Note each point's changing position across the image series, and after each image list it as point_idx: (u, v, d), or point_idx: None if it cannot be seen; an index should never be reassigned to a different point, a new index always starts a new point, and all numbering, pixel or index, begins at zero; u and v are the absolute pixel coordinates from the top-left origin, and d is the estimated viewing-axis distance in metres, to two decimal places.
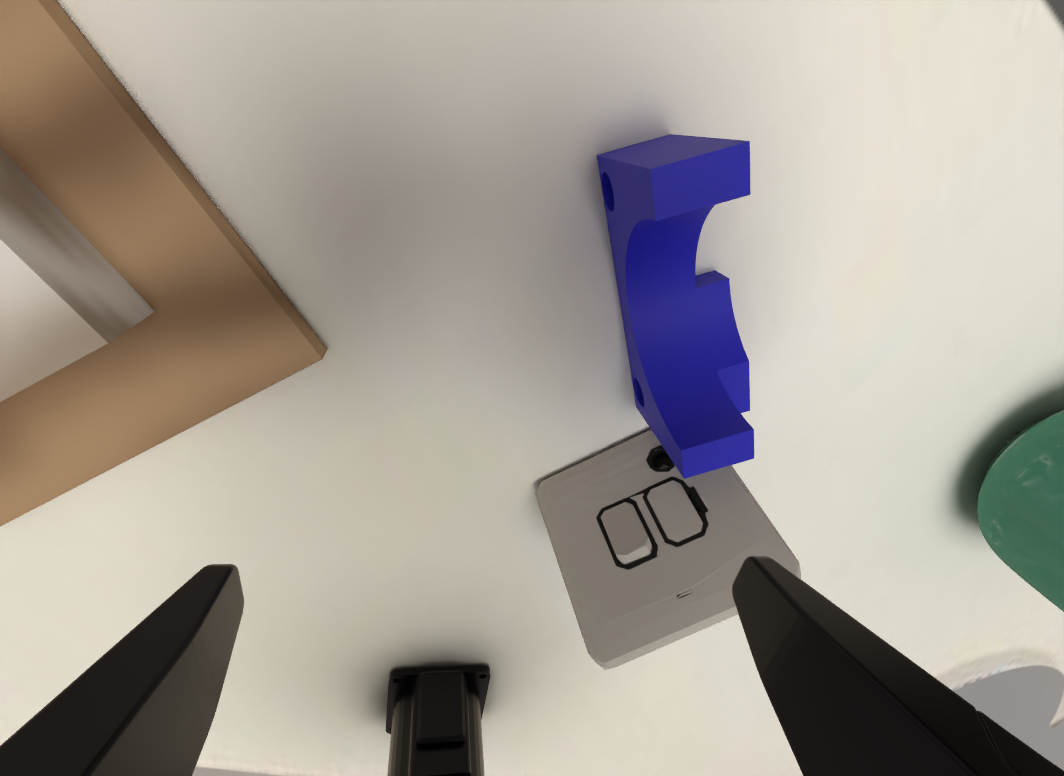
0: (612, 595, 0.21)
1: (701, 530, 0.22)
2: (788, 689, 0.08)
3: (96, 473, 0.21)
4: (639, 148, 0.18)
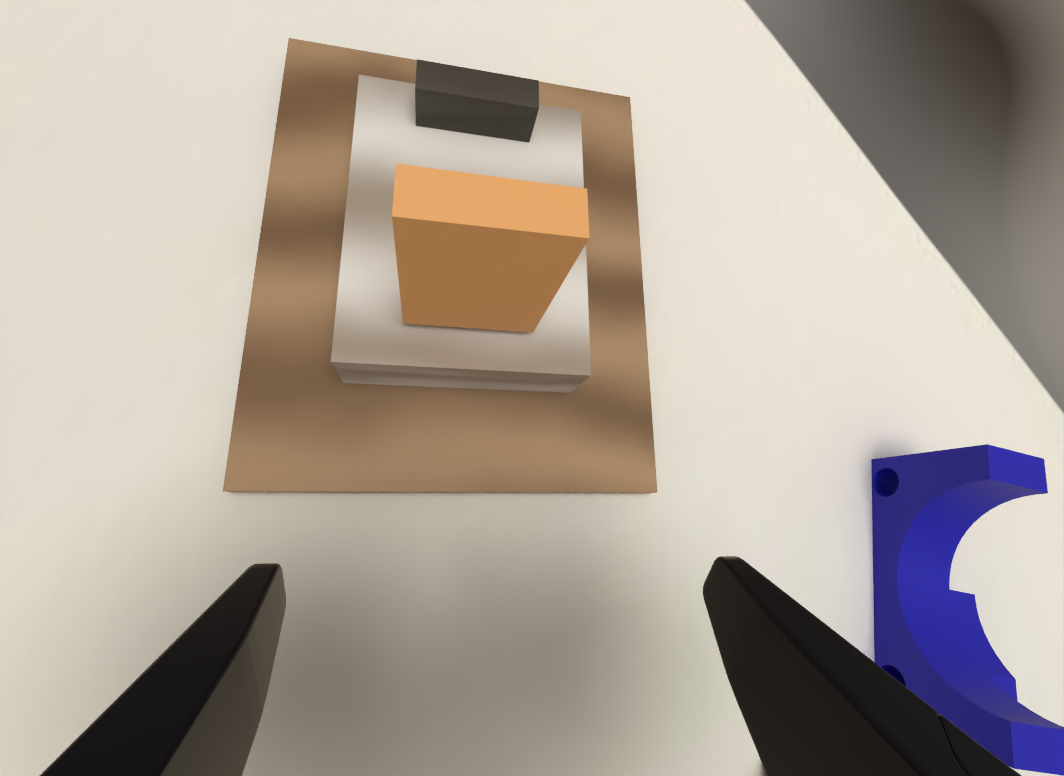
0: None
1: None
2: (754, 692, 0.08)
3: (405, 488, 0.21)
4: None
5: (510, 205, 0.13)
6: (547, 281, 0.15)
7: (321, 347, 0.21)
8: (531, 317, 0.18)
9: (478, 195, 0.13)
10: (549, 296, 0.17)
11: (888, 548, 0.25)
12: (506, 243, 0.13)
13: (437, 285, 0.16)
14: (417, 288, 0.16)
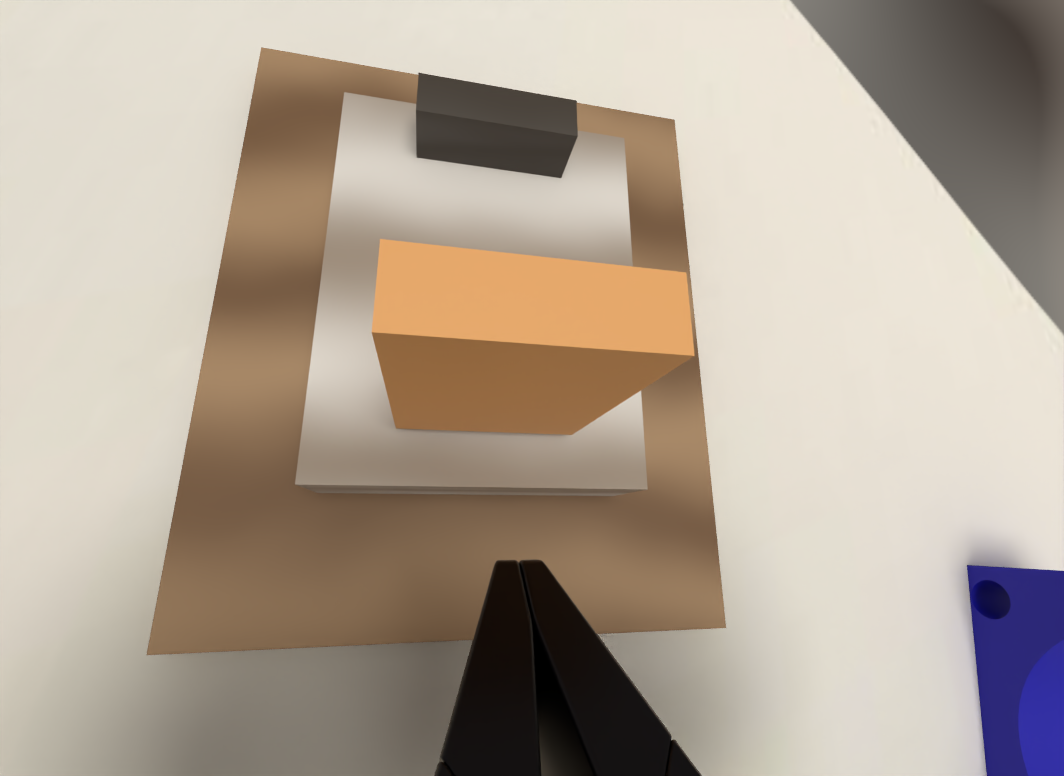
0: None
1: None
2: None
3: (397, 639, 0.15)
4: None
5: (568, 306, 0.08)
6: (608, 395, 0.10)
7: (290, 444, 0.16)
8: (573, 424, 0.13)
9: (516, 289, 0.08)
10: (606, 408, 0.11)
11: (1001, 690, 0.19)
12: (558, 361, 0.08)
13: (445, 399, 0.11)
14: (415, 401, 0.11)
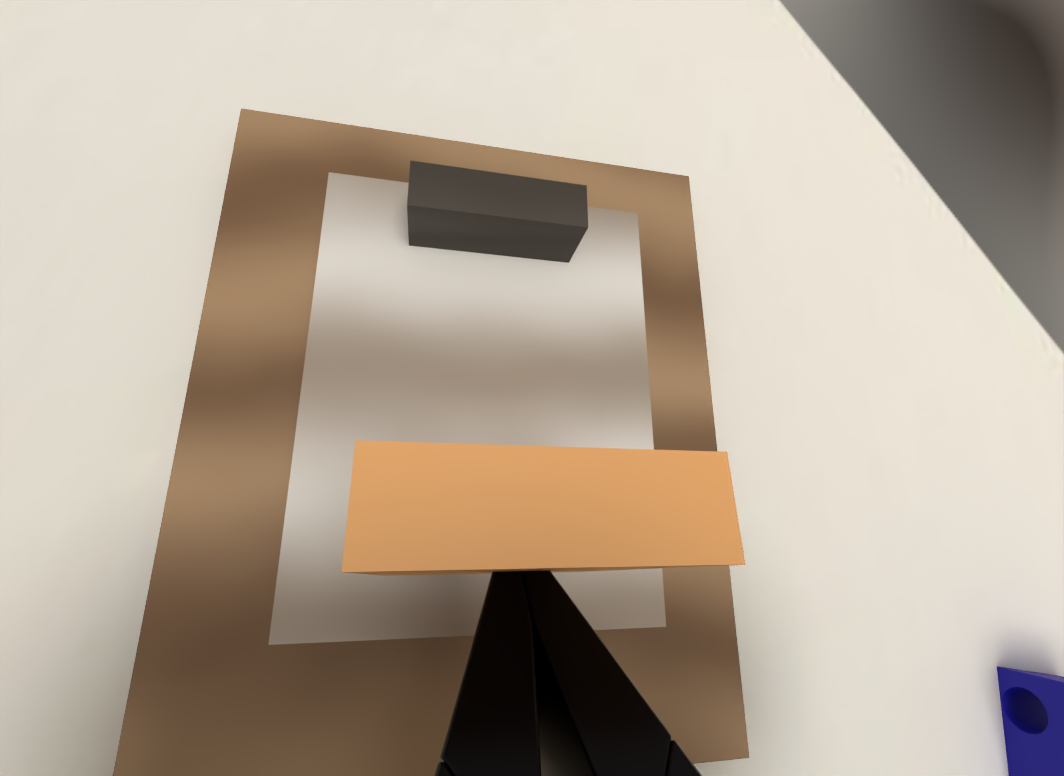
0: None
1: None
2: None
3: None
4: (1062, 679, 0.19)
5: (587, 510, 0.06)
6: None
7: (268, 567, 0.15)
8: None
9: (524, 494, 0.06)
10: (626, 569, 0.10)
11: None
12: (577, 567, 0.07)
13: (439, 573, 0.09)
14: None
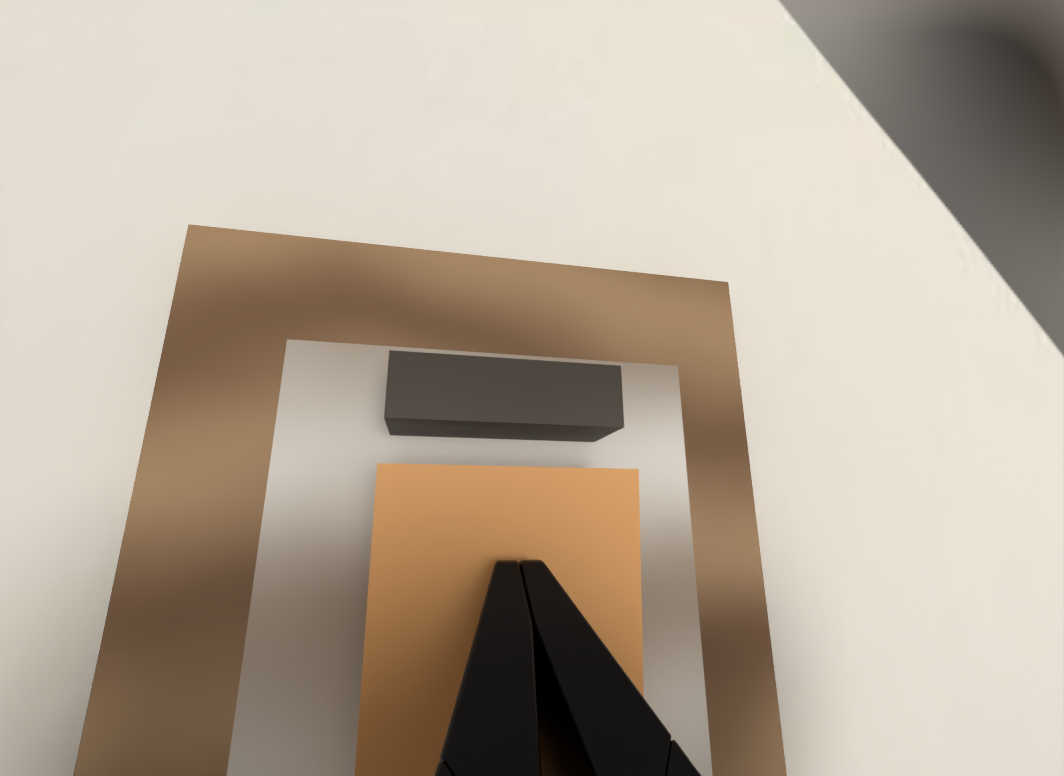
0: None
1: None
2: None
3: None
4: None
5: None
6: (617, 609, 0.09)
7: None
8: None
9: None
10: (634, 668, 0.09)
11: None
12: (536, 503, 0.09)
13: (434, 675, 0.09)
14: (395, 701, 0.08)
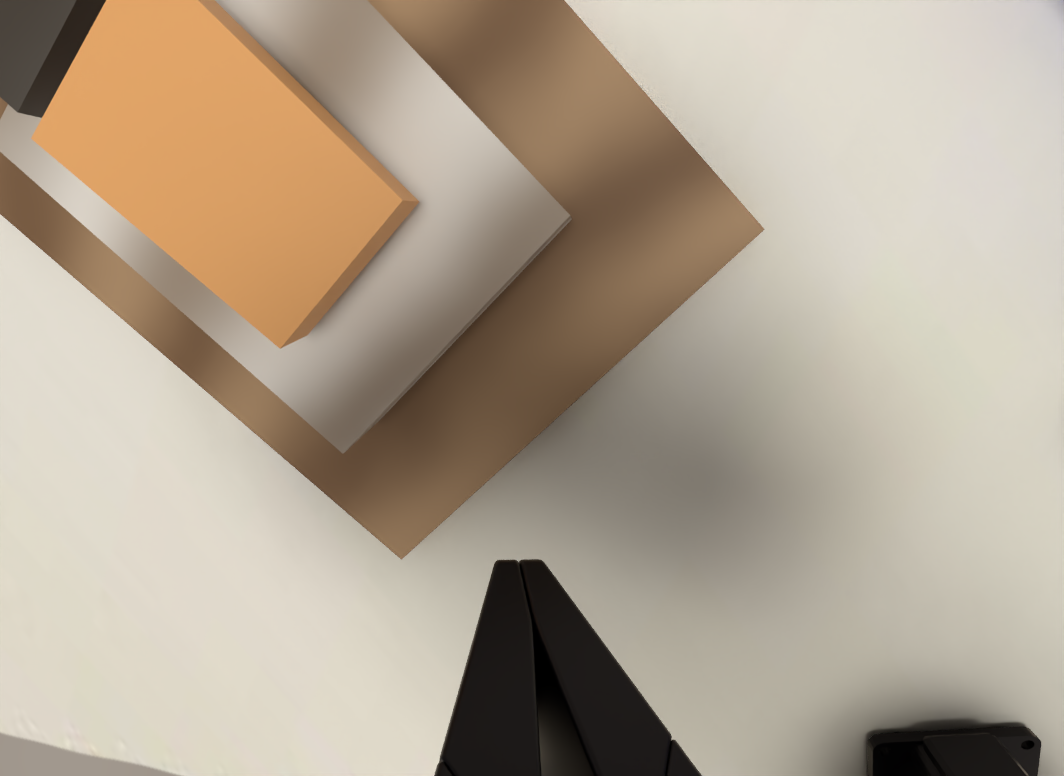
0: None
1: None
2: None
3: (514, 452, 0.19)
4: None
5: None
6: (232, 65, 0.11)
7: None
8: (342, 165, 0.11)
9: None
10: (279, 91, 0.11)
11: None
12: (118, 55, 0.11)
13: (190, 214, 0.12)
14: (189, 245, 0.12)
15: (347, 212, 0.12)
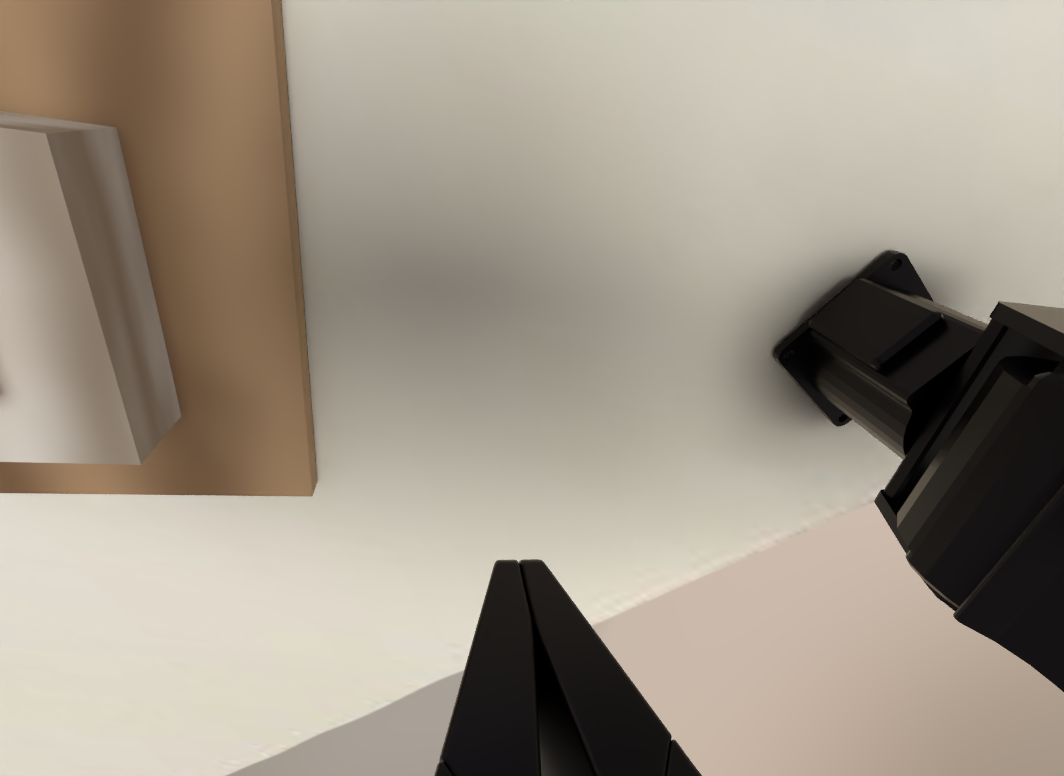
0: None
1: None
2: None
3: (297, 359, 0.19)
4: None
5: None
6: None
7: None
8: None
9: None
10: None
11: None
12: None
13: None
14: None
15: None
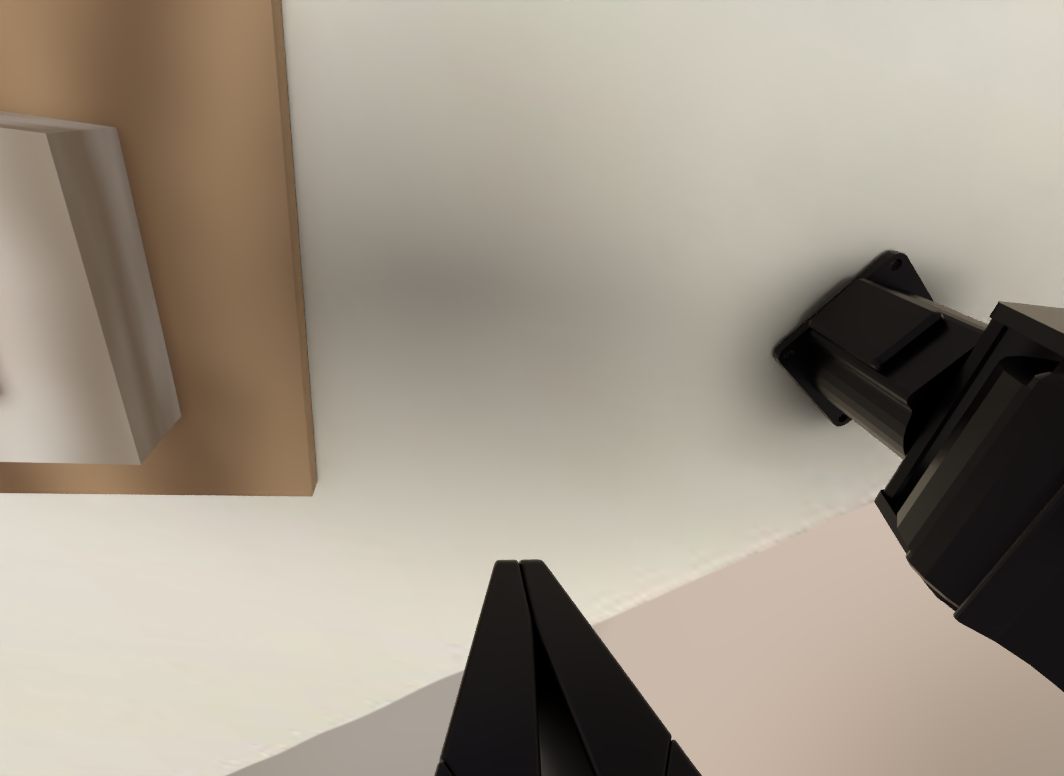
0: None
1: None
2: None
3: (297, 359, 0.19)
4: None
5: None
6: None
7: None
8: None
9: None
10: None
11: None
12: None
13: None
14: None
15: None
